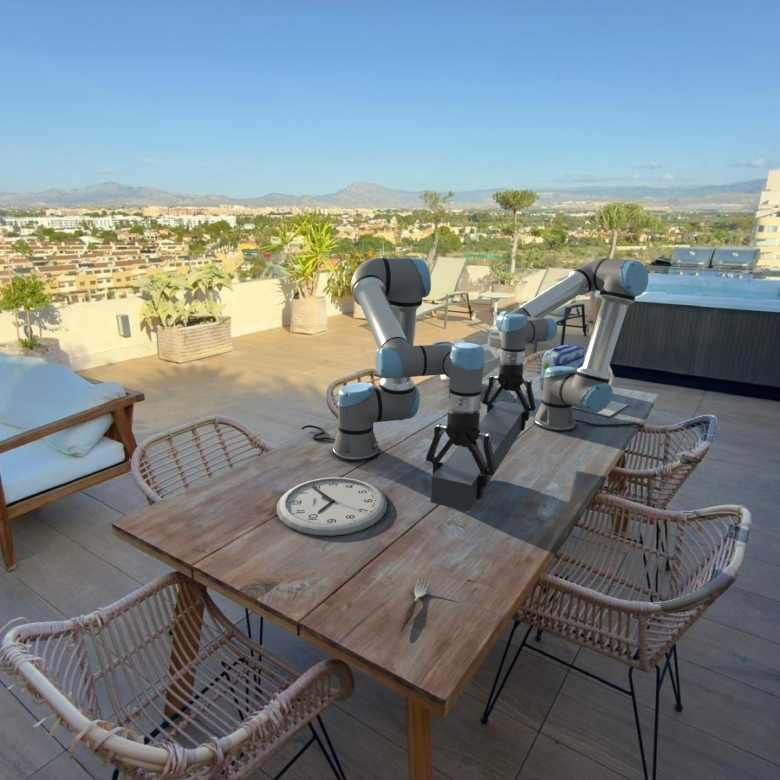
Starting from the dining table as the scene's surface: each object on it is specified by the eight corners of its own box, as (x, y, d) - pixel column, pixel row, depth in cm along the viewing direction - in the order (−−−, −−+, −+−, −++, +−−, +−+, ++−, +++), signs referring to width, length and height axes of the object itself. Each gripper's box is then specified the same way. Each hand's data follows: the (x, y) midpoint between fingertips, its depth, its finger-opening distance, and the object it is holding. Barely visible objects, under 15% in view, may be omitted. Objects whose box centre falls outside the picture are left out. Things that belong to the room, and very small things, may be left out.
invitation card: (608, 416, 214) (573, 407, 224) (608, 416, 214) (573, 408, 224) (628, 404, 229) (594, 396, 238) (628, 405, 229) (594, 397, 238)
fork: (394, 632, 98) (394, 623, 98) (419, 581, 113) (419, 573, 112) (407, 636, 97) (407, 627, 97) (430, 584, 112) (431, 576, 111)
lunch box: (556, 397, 237) (562, 352, 231) (535, 392, 244) (540, 348, 238) (583, 386, 255) (589, 344, 248) (562, 381, 262) (567, 340, 256)
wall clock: (392, 527, 129) (268, 531, 127) (391, 533, 130) (269, 537, 127) (383, 473, 158) (282, 475, 155) (383, 478, 158) (282, 480, 156)
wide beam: (496, 420, 183) (498, 400, 181) (525, 424, 179) (527, 405, 177) (430, 502, 127) (431, 476, 125) (469, 512, 123) (471, 485, 121)
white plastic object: (461, 429, 252) (437, 405, 227) (444, 352, 274) (420, 323, 250) (535, 404, 240) (518, 377, 215) (510, 326, 262) (492, 293, 237)
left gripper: (413, 406, 125) (411, 488, 132) (507, 422, 116) (499, 510, 123) (425, 397, 132) (422, 476, 139) (515, 411, 123) (507, 496, 129)
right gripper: (474, 361, 170) (471, 425, 177) (545, 369, 161) (539, 436, 168) (480, 356, 176) (477, 418, 183) (549, 363, 167) (543, 428, 174)
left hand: (458, 492), depth 131 cm, fingers closed on wide beam, 10 cm apart
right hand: (506, 426), depth 175 cm, fingers closed on wide beam, 10 cm apart
